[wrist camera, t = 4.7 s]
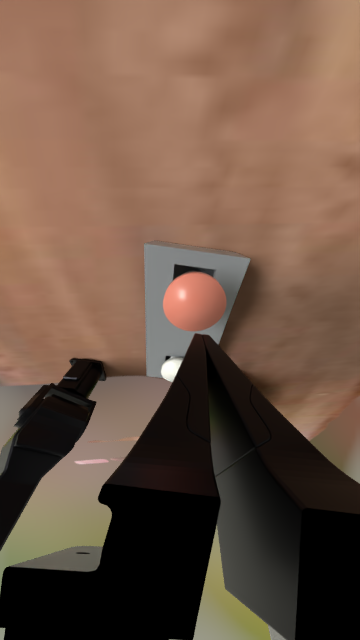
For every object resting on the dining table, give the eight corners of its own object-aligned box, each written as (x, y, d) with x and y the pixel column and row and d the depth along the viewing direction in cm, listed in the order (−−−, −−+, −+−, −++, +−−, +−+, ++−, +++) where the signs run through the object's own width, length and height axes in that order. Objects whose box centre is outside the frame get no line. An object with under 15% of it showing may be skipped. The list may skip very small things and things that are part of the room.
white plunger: (190, 359, 26) (191, 384, 22) (164, 357, 26) (160, 381, 22) (194, 340, 23) (197, 364, 19) (166, 337, 23) (161, 360, 19)
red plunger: (208, 308, 16) (216, 334, 12) (167, 303, 16) (161, 327, 12) (220, 264, 14) (235, 279, 10) (171, 258, 14) (165, 269, 9)
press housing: (201, 359, 28) (204, 382, 24) (152, 354, 27) (146, 376, 23) (234, 251, 17) (250, 258, 13) (154, 240, 17) (144, 243, 12)
